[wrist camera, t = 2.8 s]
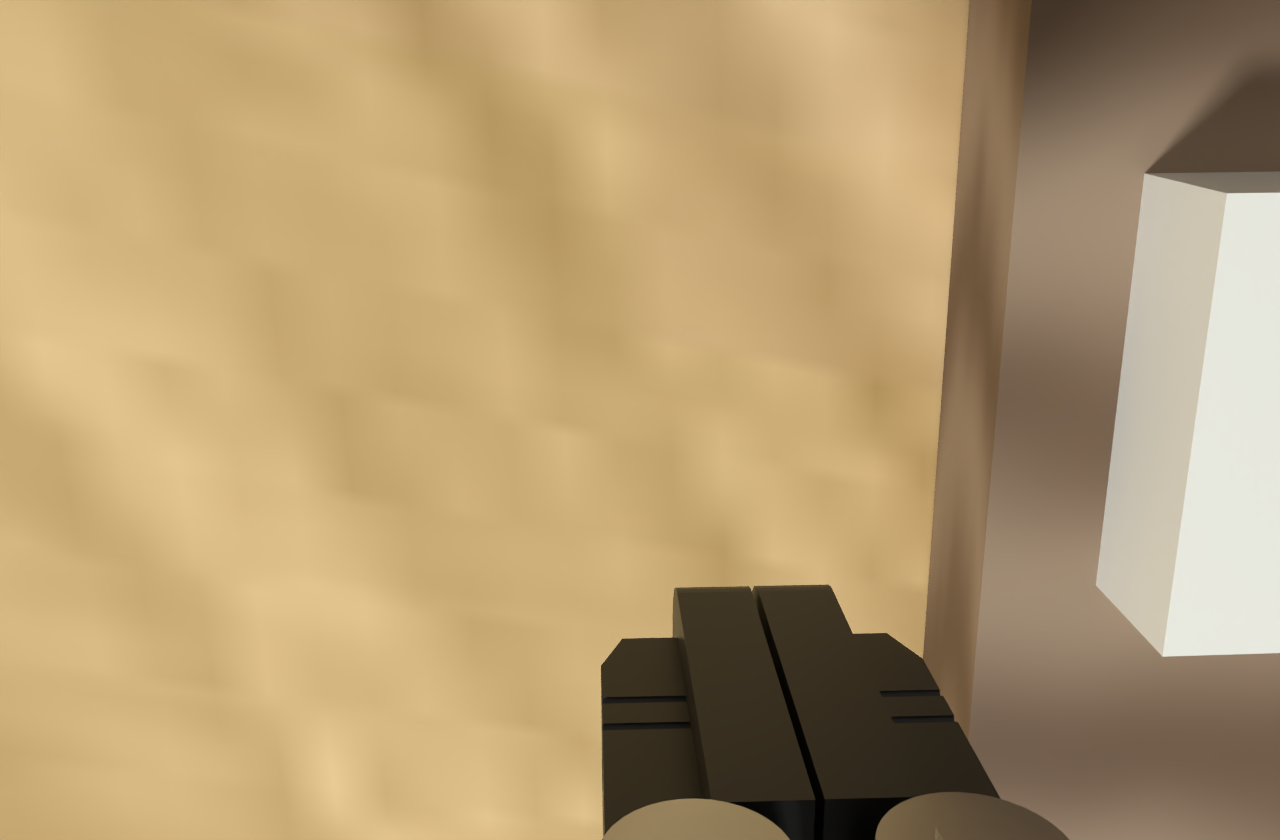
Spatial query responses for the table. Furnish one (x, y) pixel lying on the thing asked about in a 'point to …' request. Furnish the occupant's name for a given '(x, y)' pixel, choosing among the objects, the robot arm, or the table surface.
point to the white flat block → (1199, 420)
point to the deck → (1083, 416)
